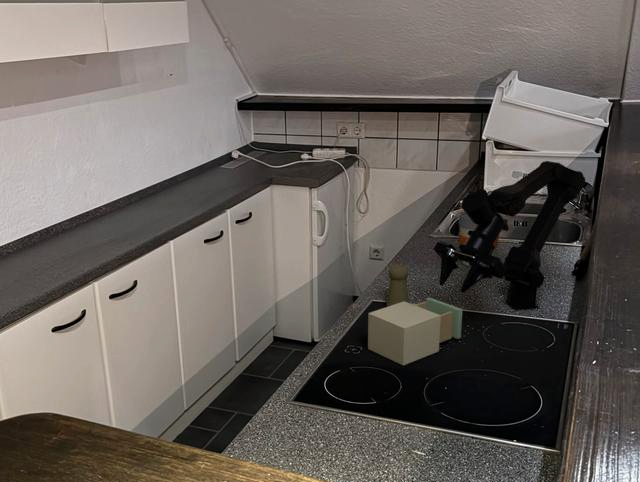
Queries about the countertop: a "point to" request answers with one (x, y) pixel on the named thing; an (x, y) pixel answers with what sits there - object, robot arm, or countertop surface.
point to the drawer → (445, 318)
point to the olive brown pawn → (397, 285)
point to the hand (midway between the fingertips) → (451, 288)
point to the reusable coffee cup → (465, 226)
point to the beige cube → (403, 332)
